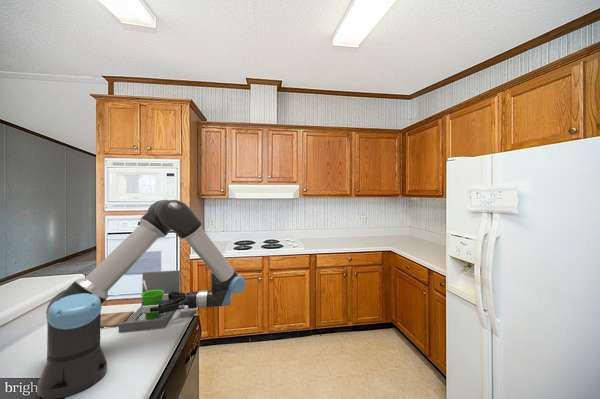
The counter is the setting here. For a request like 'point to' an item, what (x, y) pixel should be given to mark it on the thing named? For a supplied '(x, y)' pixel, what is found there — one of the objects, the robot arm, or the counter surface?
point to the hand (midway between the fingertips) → (148, 303)
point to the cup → (152, 301)
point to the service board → (114, 319)
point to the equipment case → (168, 284)
